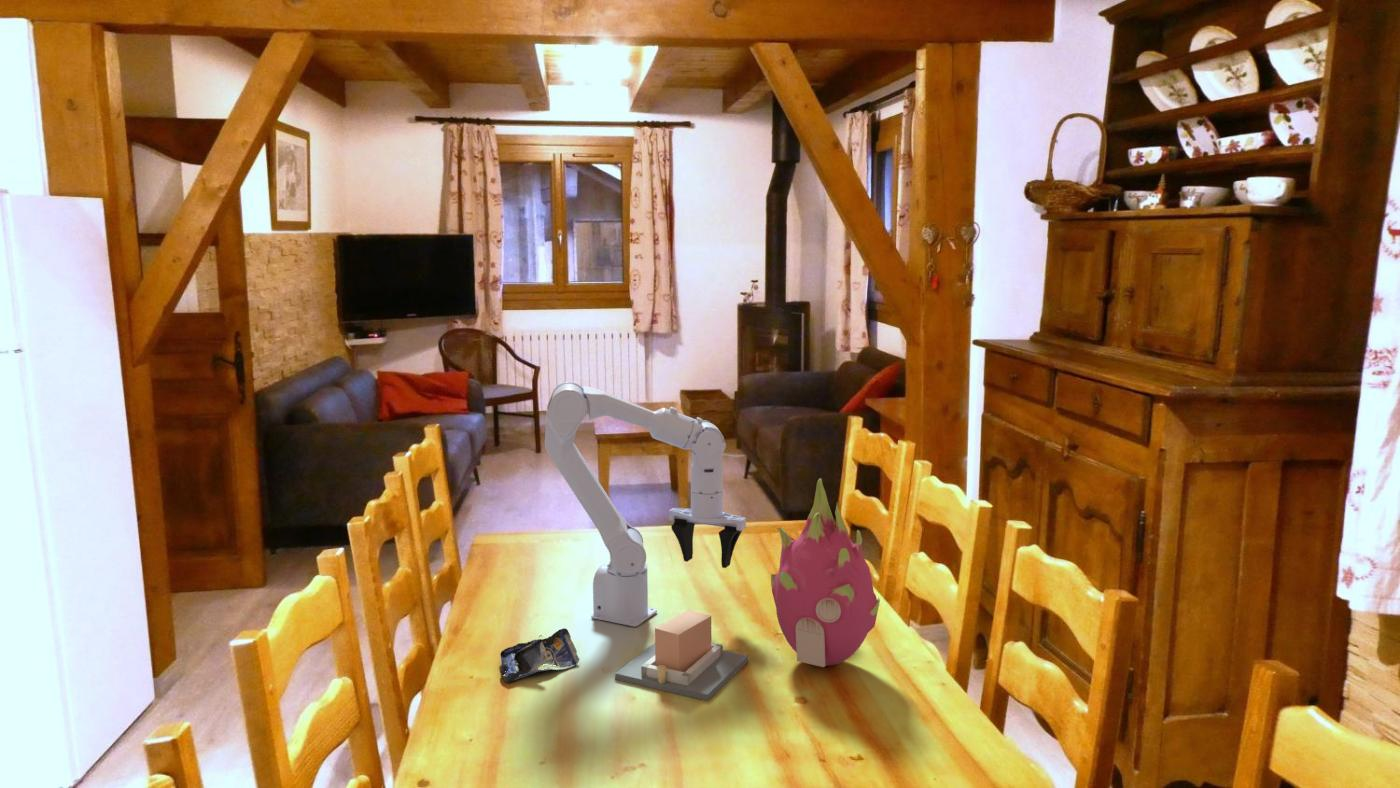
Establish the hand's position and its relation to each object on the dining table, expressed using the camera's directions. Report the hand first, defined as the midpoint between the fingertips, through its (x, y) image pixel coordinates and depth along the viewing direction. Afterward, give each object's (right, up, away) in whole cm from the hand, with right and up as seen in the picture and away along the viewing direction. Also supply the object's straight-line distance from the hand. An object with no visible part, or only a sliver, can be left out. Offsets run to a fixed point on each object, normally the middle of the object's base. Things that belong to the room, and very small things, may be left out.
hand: (706, 563), depth 174 cm
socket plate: (-4, -13, -22) cm, 26 cm away
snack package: (-27, -14, -21) cm, 37 cm away
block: (-4, -12, -22) cm, 25 cm away
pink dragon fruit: (+18, -13, -20) cm, 30 cm away
